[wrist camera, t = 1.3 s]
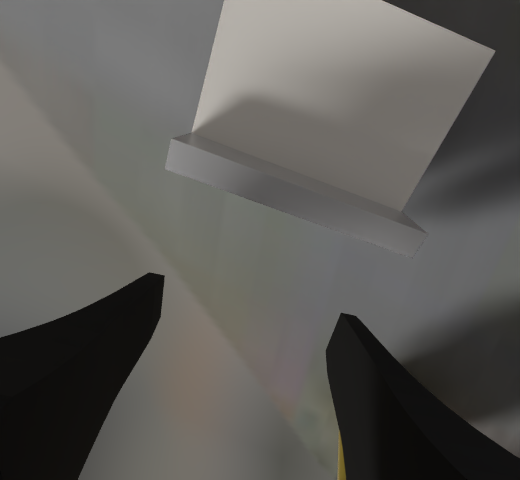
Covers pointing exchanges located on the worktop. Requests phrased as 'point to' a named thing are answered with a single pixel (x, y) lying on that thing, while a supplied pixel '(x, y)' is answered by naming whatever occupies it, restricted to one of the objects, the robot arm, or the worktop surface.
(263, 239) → the worktop surface
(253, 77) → the grey l-shaped bracket
